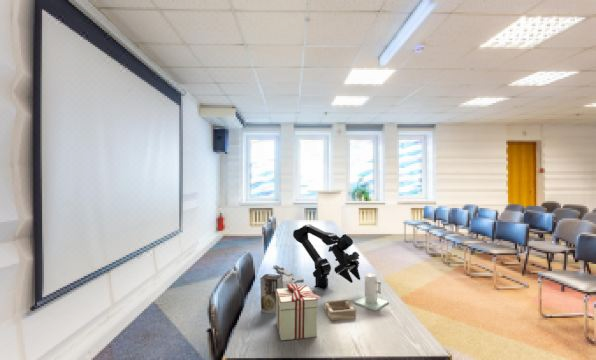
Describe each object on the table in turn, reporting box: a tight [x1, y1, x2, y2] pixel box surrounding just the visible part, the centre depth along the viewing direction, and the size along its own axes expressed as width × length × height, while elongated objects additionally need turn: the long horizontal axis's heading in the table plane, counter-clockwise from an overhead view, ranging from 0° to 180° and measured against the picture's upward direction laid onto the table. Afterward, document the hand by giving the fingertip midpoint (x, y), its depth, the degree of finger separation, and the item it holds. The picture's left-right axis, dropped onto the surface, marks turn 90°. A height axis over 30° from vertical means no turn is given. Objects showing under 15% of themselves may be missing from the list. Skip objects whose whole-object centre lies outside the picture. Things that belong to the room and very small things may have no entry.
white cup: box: [282, 276, 293, 288], centre depth 152 cm, size 8×8×10 cm
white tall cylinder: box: [364, 272, 382, 304], centre depth 142 cm, size 8×6×13 cm
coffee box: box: [259, 273, 283, 314], centre depth 137 cm, size 9×6×16 cm
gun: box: [273, 264, 305, 284], centre depth 189 cm, size 36×4×10 cm
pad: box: [353, 295, 389, 312], centre depth 143 cm, size 12×12×1 cm
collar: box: [323, 299, 357, 321], centre depth 133 cm, size 11×11×4 cm
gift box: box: [275, 283, 323, 341], centre depth 120 cm, size 17×18×17 cm
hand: (356, 281), depth 150 cm, fingers open, 9 cm apart
